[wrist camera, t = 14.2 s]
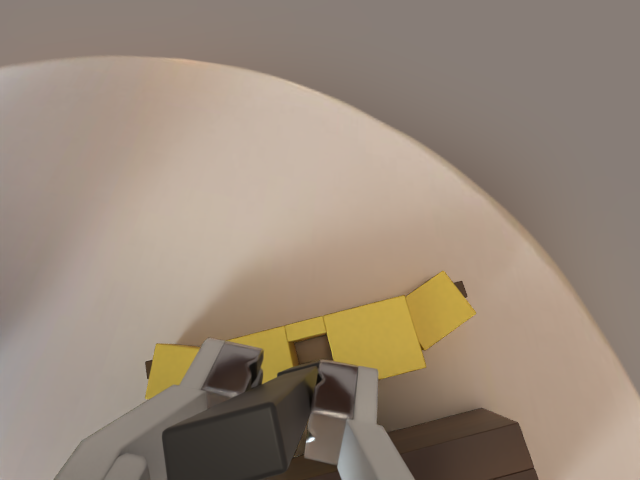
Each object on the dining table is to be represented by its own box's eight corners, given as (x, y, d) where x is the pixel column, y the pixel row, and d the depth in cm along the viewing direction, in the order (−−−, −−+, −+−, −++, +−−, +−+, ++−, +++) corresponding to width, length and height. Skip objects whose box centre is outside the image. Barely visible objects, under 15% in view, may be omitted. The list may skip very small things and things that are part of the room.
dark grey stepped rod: (295, 388, 20) (152, 520, 5) (290, 367, 20) (140, 426, 5) (330, 378, 20) (308, 479, 5) (325, 358, 20) (288, 387, 5)
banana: (475, 349, 30) (496, 349, 26) (167, 429, 29) (141, 441, 25) (449, 273, 31) (465, 263, 28) (156, 348, 31) (130, 348, 27)
